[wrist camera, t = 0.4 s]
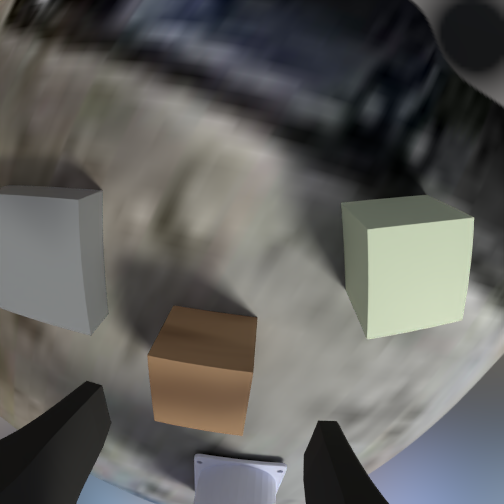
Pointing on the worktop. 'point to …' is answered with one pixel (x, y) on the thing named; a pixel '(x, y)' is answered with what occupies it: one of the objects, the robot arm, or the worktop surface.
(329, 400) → the worktop surface
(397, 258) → the sage cube
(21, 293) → the slate tile
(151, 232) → the worktop surface
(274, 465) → the robot arm
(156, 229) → the worktop surface
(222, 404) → the walnut cube
